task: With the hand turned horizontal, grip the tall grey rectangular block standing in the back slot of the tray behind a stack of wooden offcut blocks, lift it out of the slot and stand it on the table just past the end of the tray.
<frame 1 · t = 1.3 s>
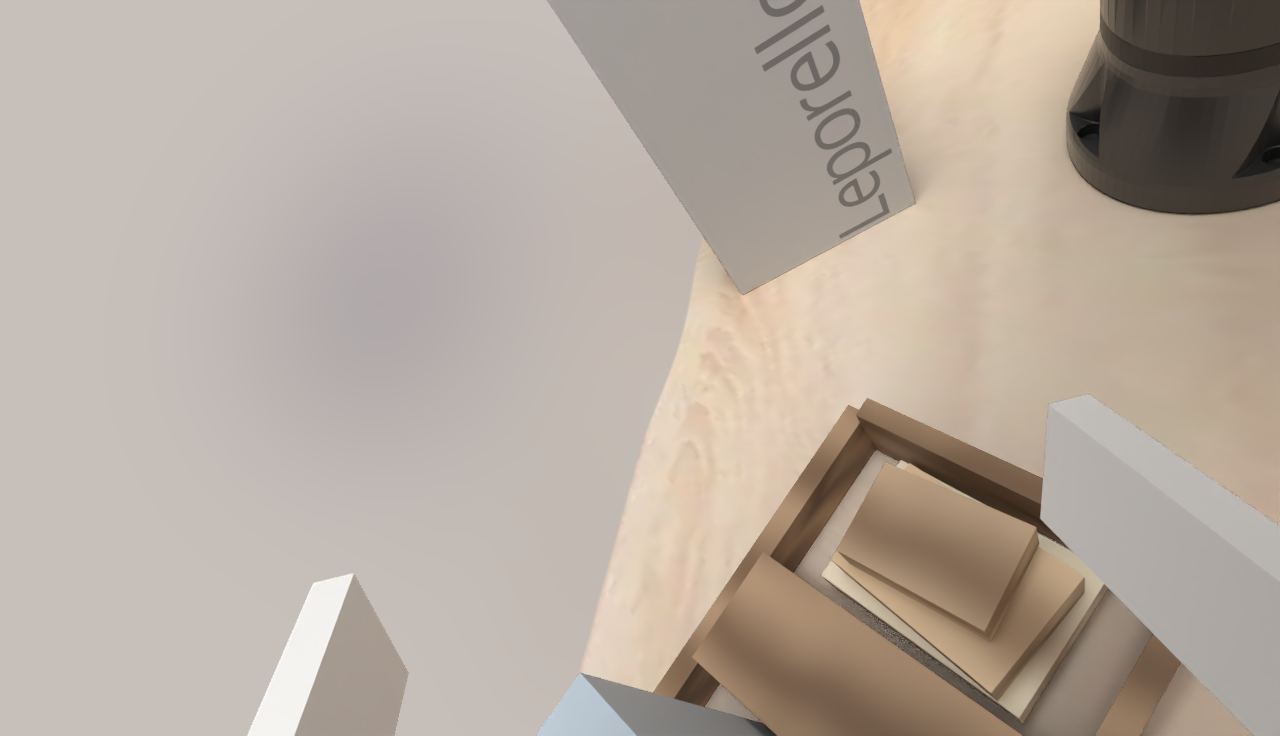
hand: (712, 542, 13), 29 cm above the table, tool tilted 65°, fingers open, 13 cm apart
offcut top: (939, 554, 33), point 5 cm above the table, touching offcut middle
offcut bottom: (960, 588, 37), on the table, touching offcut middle
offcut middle: (955, 582, 35), point 2 cm above the table, touching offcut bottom, offcut top
brochure: (813, 229, 54), on the table
tray: (891, 694, 36), on the table
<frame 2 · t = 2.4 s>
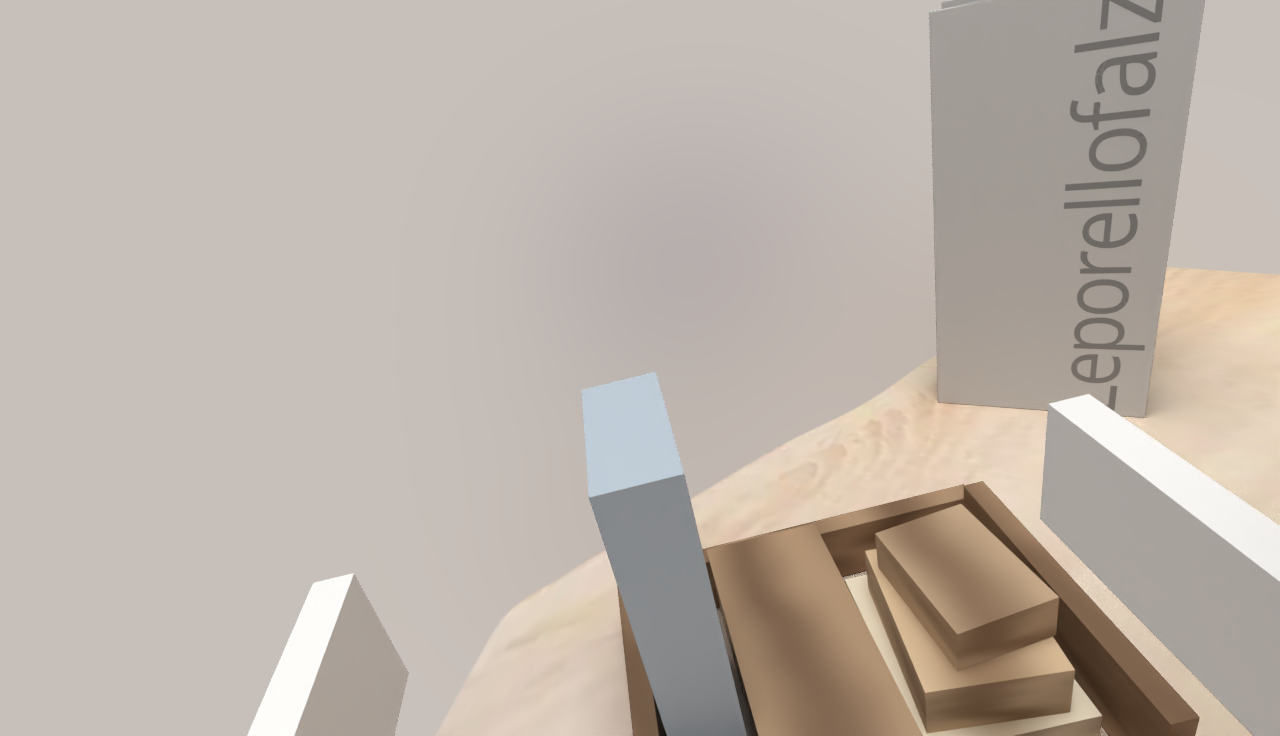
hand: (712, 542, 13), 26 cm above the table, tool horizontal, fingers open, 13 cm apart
offcut top: (959, 598, 35), point 5 cm above the table
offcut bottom: (956, 675, 38), on the table, touching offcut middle
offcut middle: (957, 643, 36), point 2 cm above the table, touching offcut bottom
brochure: (1035, 393, 57), on the table
tray: (835, 697, 37), on the table
grey rectangular block: (710, 729, 37), on the table
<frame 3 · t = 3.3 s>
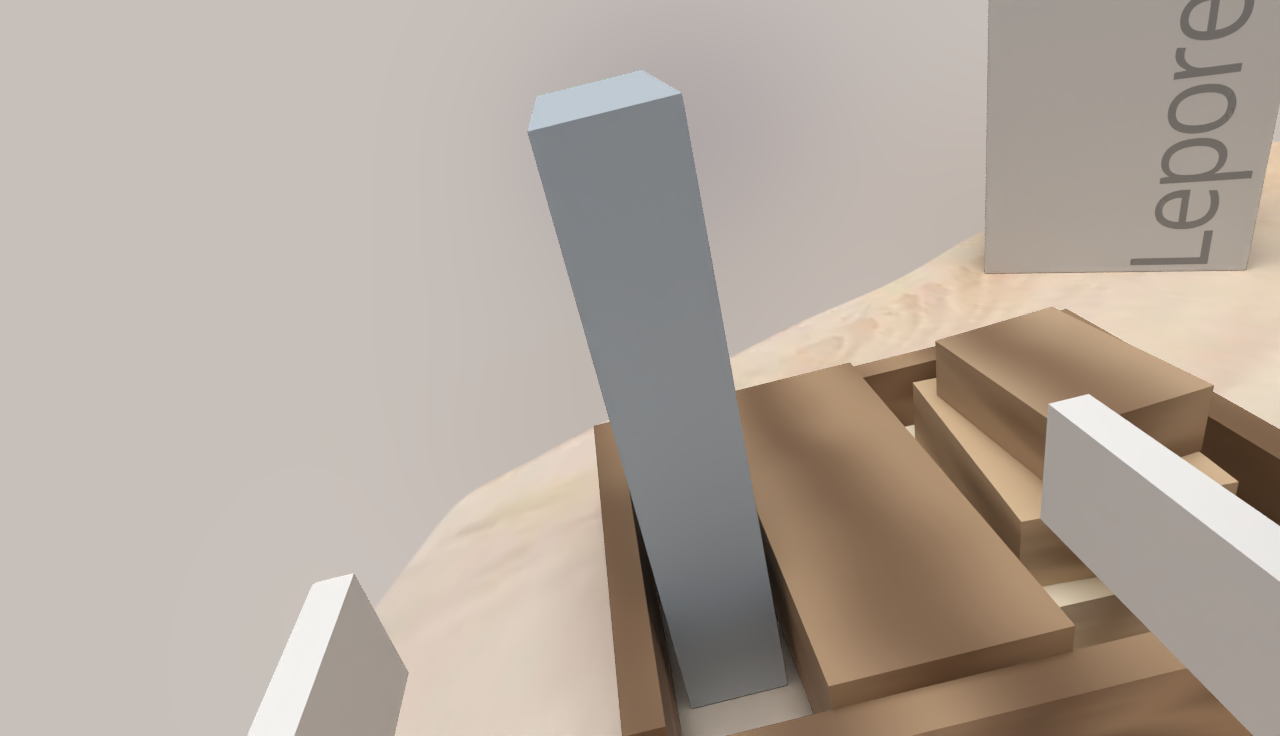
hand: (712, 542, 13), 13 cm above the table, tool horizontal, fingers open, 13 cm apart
offcut top: (1053, 419, 25), point 5 cm above the table
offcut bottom: (1039, 540, 28), on the table, touching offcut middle
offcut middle: (1044, 487, 27), point 2 cm above the table, touching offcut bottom
brochure: (1103, 258, 47), on the table
tray: (884, 568, 28), on the table
grey rectangular block: (716, 610, 28), on the table
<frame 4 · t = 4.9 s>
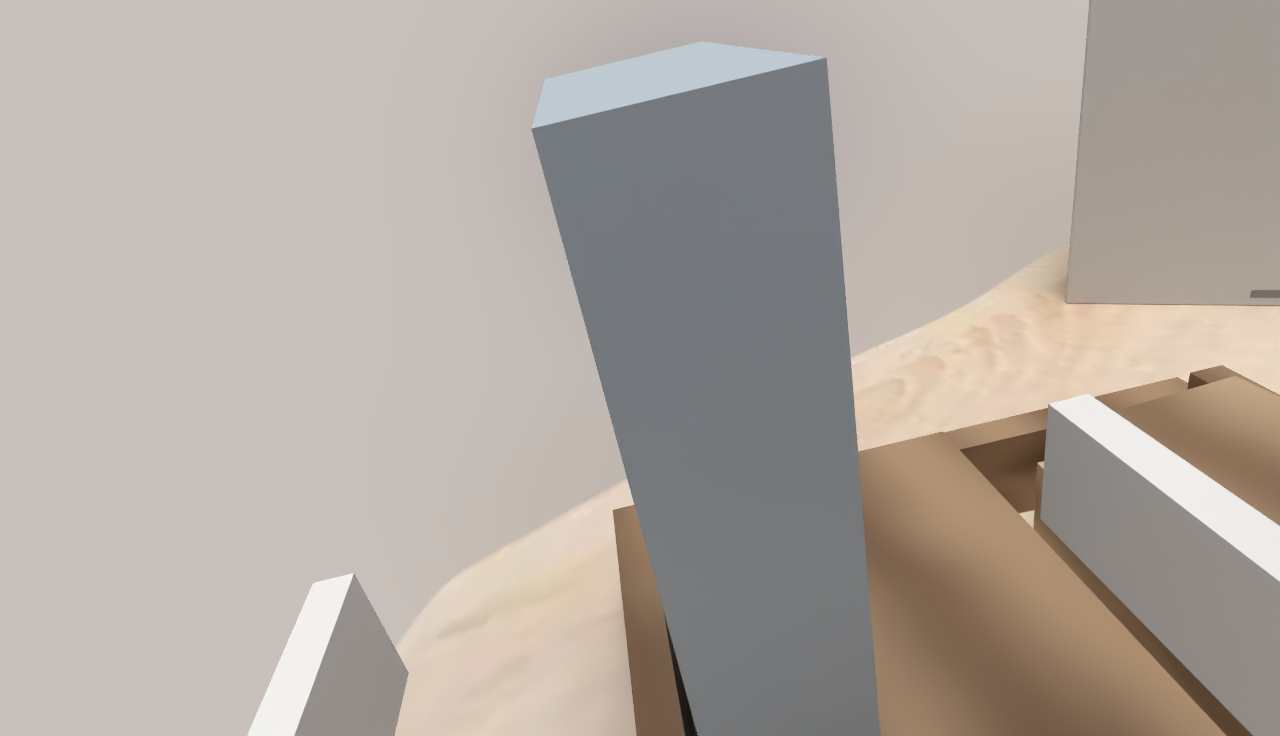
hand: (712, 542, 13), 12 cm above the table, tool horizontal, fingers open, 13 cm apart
offcut top: (1255, 541, 18), point 5 cm above the table
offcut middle: (1235, 617, 20), point 2 cm above the table, touching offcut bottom
brochure: (1209, 287, 40), on the table
tray: (1008, 726, 21), on the table
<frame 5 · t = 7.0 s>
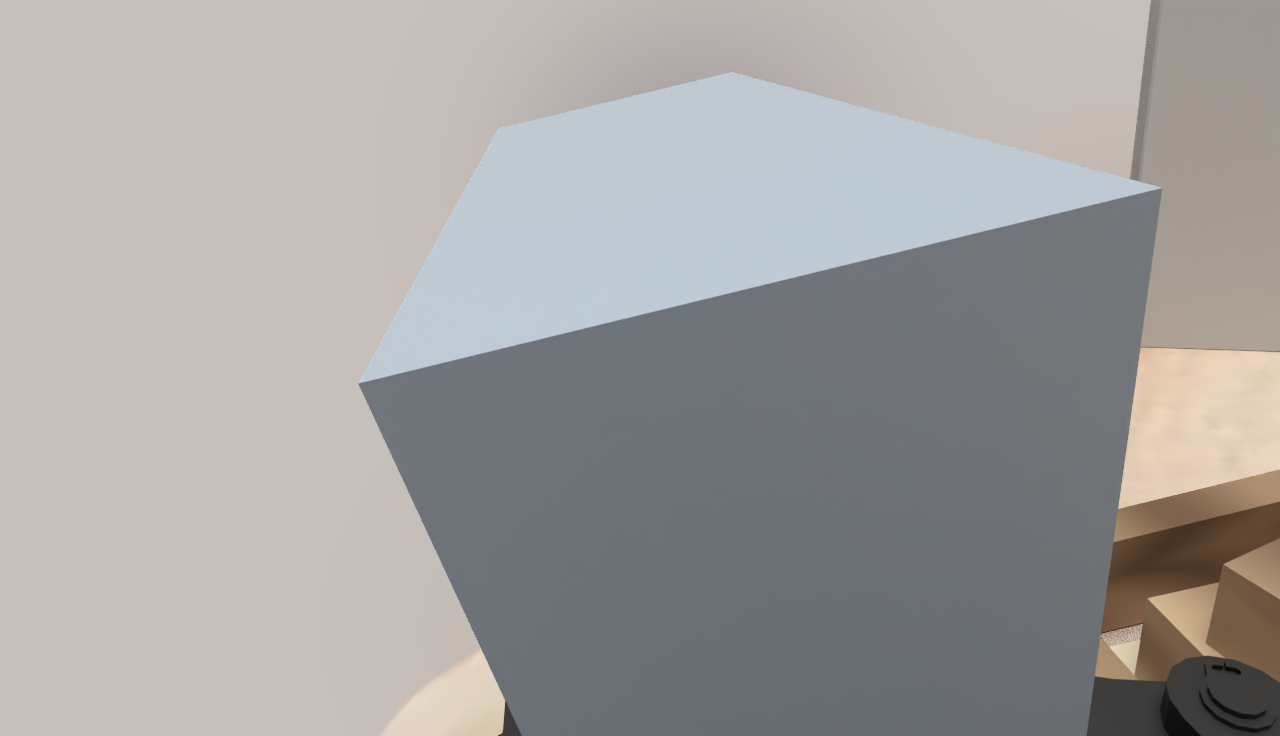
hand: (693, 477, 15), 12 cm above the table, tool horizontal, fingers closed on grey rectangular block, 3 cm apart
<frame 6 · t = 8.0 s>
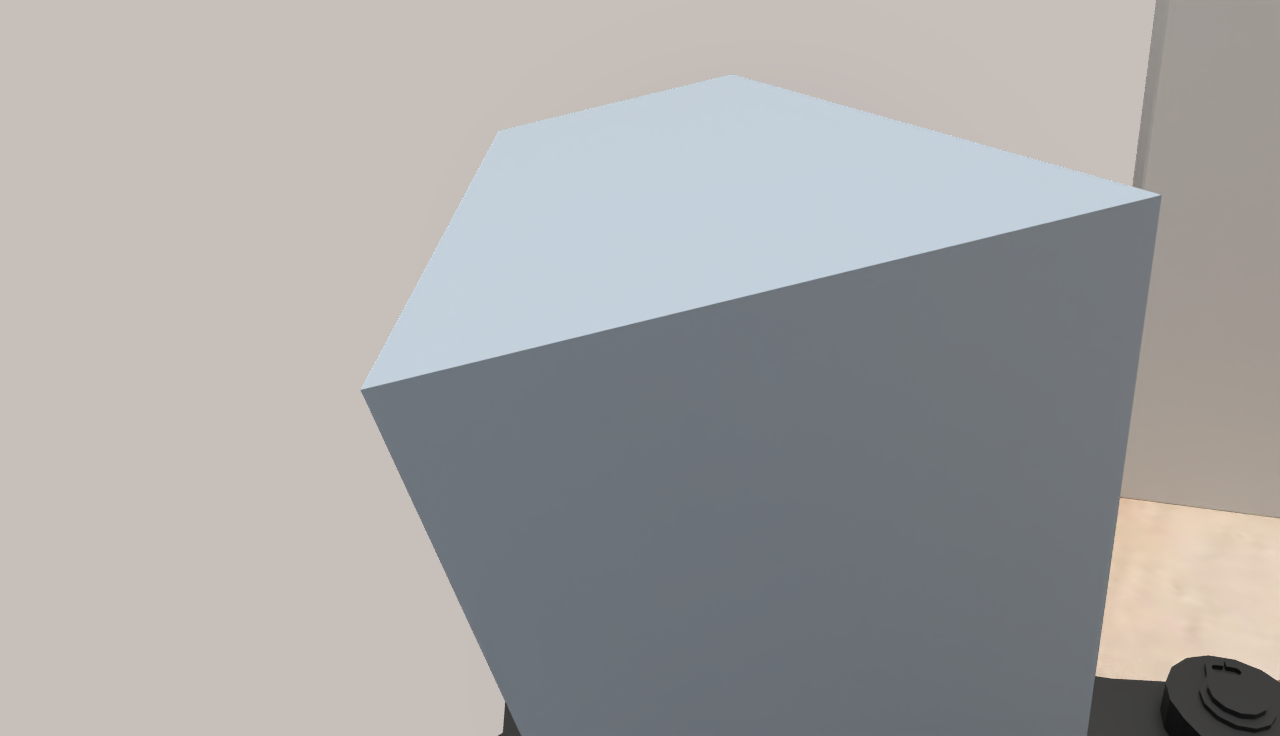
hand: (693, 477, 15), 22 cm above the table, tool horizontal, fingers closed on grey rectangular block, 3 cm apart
brochure: (1245, 486, 40), on the table
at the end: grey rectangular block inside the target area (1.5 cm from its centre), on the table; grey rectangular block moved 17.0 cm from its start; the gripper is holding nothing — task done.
